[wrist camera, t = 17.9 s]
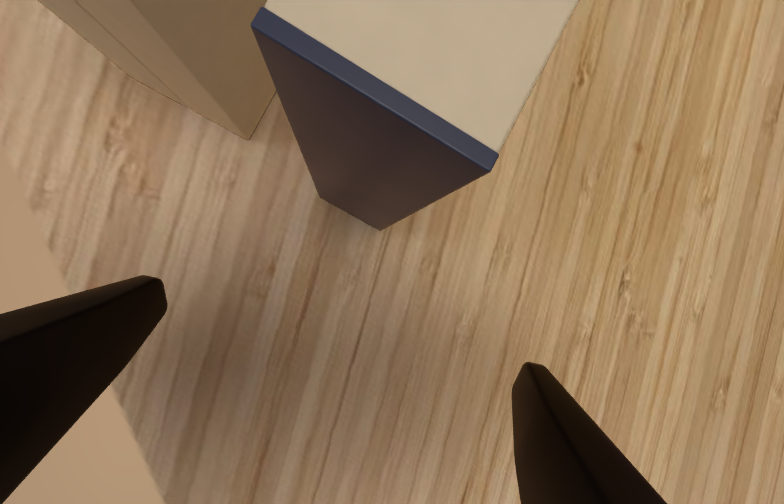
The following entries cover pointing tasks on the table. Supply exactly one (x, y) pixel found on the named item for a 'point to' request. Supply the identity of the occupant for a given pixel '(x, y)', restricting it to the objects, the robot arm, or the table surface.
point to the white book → (404, 91)
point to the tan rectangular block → (183, 51)
